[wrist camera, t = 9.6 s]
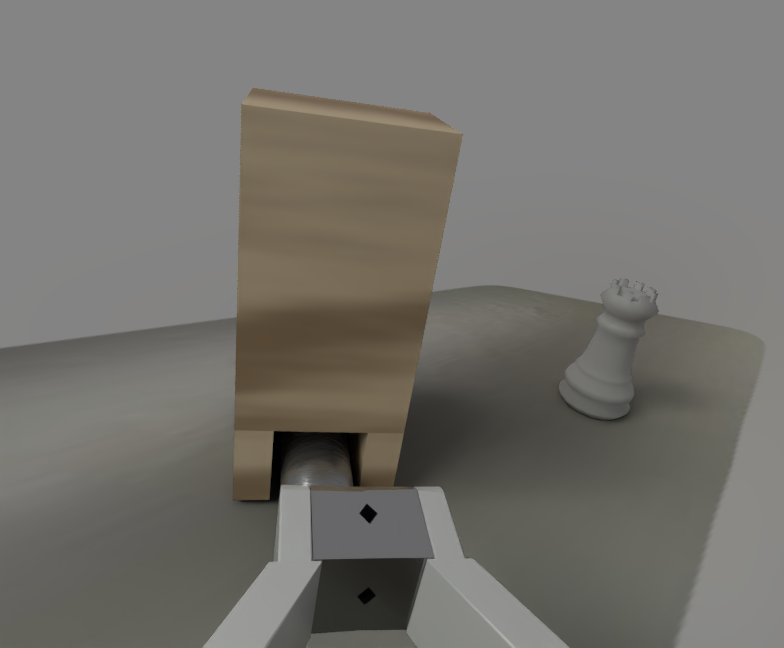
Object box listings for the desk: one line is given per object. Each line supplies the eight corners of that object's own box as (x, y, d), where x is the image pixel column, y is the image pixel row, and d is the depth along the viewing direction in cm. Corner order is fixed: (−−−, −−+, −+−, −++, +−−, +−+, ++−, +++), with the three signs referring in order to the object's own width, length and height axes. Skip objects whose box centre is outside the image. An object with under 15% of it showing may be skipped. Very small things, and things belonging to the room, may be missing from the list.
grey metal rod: (359, 605, 20) (369, 548, 19) (274, 609, 19) (279, 550, 18) (334, 377, 33) (339, 333, 32) (283, 375, 32) (286, 330, 31)
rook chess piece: (578, 375, 38) (617, 267, 34) (640, 409, 35) (689, 296, 31) (542, 394, 35) (580, 278, 31) (606, 432, 32) (655, 311, 29)
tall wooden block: (390, 499, 24) (462, 134, 17) (232, 500, 23) (241, 104, 16) (376, 427, 29) (429, 112, 22) (243, 425, 27) (253, 87, 20)
